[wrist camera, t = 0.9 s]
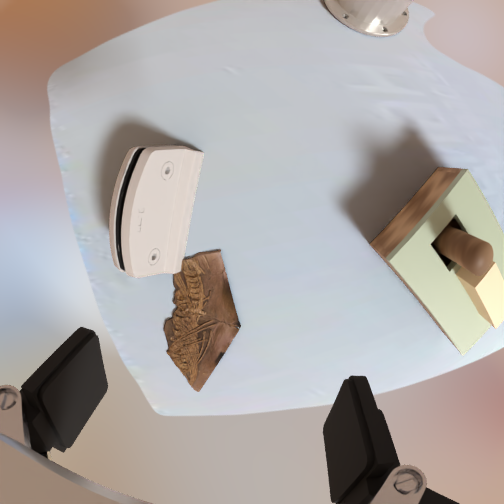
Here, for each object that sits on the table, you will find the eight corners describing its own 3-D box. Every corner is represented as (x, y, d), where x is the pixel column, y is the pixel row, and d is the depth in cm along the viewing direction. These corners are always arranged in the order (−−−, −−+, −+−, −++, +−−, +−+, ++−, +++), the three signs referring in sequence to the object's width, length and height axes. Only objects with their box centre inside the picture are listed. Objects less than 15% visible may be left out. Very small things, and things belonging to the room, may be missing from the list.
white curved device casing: (181, 273, 39) (129, 295, 30) (156, 261, 41) (103, 279, 32) (205, 149, 34) (150, 139, 25) (176, 144, 36) (120, 135, 27)
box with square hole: (438, 167, 32) (462, 168, 26) (498, 268, 35) (519, 281, 29) (369, 244, 36) (385, 258, 30) (443, 332, 39) (459, 351, 33)
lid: (462, 168, 26) (491, 171, 21) (519, 281, 29) (541, 295, 24) (385, 258, 30) (405, 276, 25) (459, 351, 33) (476, 373, 28)
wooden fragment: (178, 238, 38) (175, 240, 37) (258, 258, 38) (258, 261, 37) (160, 378, 46) (158, 382, 45) (221, 395, 46) (220, 399, 45)
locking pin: (430, 212, 33) (485, 234, 21) (443, 231, 34) (497, 257, 22) (413, 231, 34) (465, 260, 22) (427, 249, 35) (478, 282, 23)
